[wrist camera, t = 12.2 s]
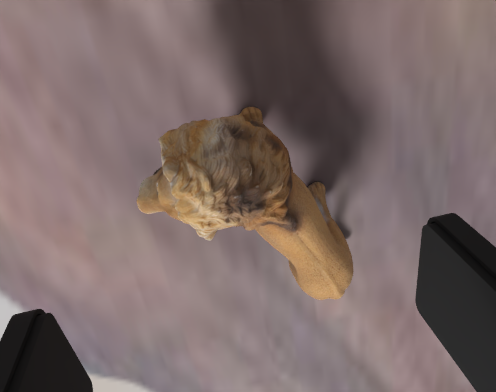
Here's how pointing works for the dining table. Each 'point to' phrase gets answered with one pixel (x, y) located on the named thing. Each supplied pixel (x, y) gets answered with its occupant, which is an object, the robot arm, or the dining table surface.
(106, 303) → the dining table surface
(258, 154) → the lion figurine
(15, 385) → the robot arm
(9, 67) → the dining table surface
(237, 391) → the dining table surface
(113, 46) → the dining table surface
